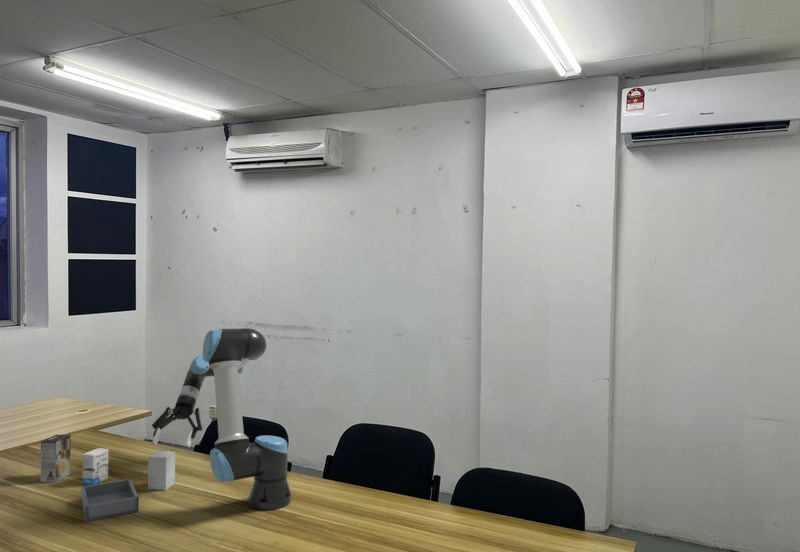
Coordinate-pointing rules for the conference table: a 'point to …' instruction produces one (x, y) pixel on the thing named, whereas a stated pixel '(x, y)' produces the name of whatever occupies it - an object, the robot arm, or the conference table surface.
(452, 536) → the conference table surface
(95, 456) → the ink box
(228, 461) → the robot arm
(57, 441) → the coffee box
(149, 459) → the supplement box
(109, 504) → the tote
